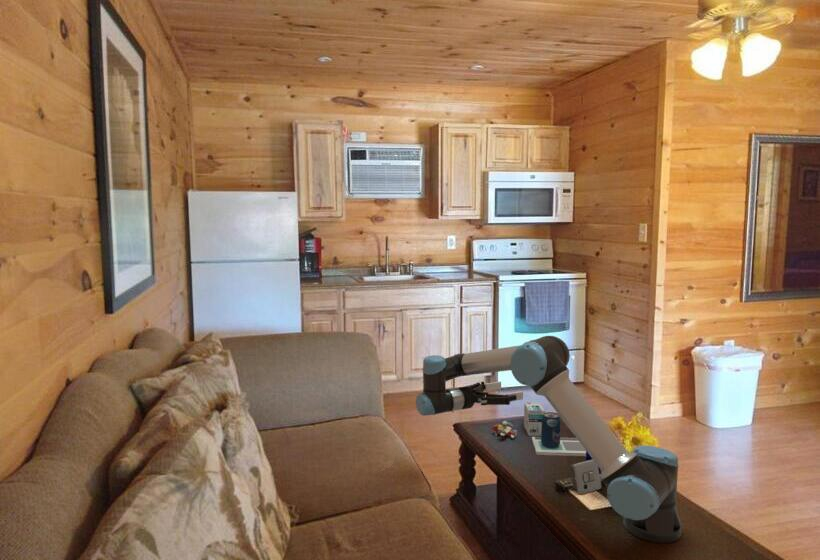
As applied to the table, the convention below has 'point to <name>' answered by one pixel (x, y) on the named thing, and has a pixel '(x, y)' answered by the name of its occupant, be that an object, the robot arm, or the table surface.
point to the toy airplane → (504, 429)
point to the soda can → (550, 430)
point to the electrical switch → (585, 476)
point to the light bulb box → (533, 418)
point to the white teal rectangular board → (560, 447)
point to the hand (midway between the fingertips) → (511, 390)
